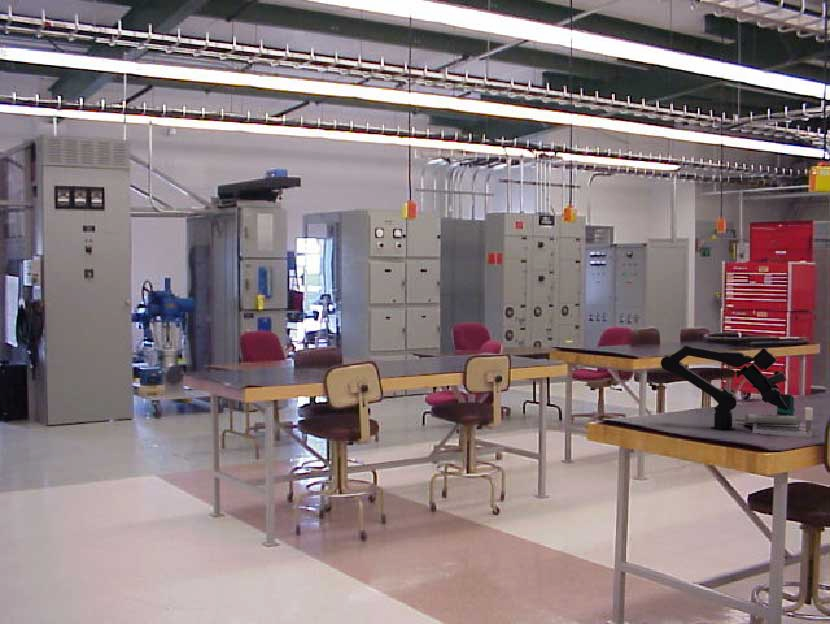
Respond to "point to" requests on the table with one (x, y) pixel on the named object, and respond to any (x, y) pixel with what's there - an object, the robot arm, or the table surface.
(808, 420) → the cap
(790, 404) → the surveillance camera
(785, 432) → the fader console
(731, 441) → the table surface
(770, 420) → the geiger counter
